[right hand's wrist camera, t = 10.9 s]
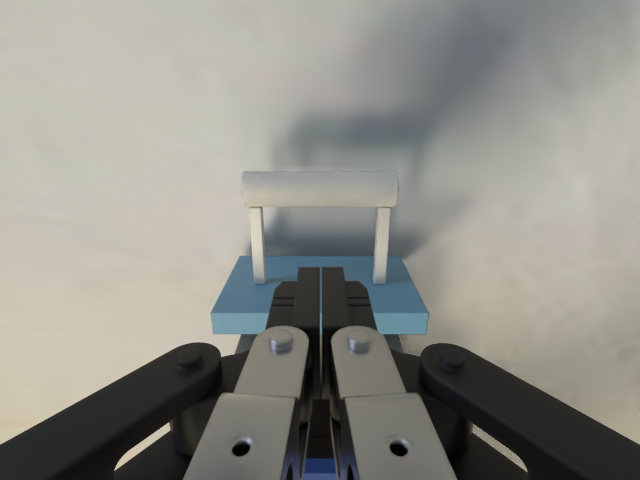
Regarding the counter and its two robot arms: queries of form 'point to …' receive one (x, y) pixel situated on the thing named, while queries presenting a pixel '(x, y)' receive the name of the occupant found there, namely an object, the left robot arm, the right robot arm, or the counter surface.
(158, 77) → the counter surface
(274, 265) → the drawer
